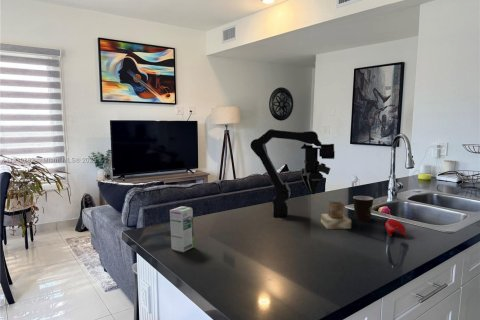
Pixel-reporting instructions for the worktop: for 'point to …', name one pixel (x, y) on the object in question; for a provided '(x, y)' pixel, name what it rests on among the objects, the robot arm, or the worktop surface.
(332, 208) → the walnut block
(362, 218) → the coffee mug
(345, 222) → the birch block
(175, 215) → the syrup box
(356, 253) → the worktop surface
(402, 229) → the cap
